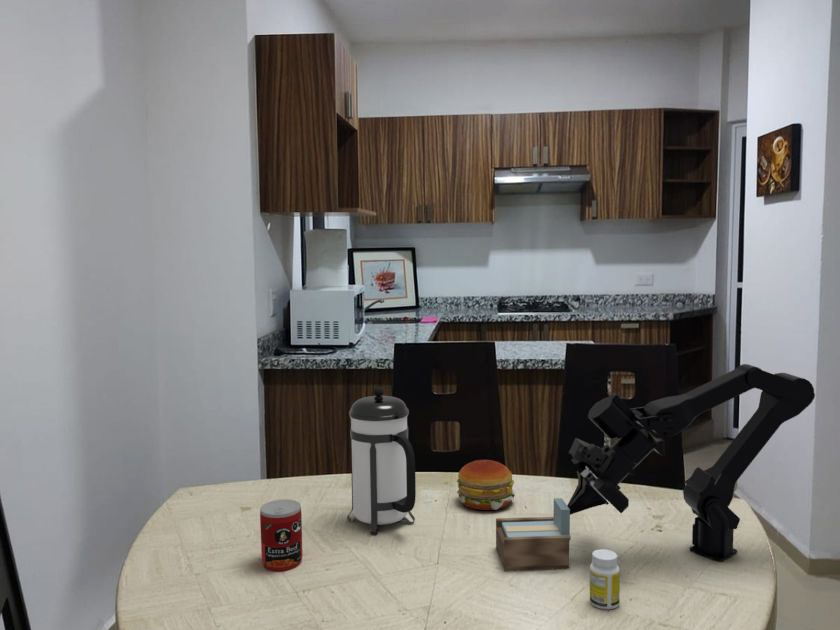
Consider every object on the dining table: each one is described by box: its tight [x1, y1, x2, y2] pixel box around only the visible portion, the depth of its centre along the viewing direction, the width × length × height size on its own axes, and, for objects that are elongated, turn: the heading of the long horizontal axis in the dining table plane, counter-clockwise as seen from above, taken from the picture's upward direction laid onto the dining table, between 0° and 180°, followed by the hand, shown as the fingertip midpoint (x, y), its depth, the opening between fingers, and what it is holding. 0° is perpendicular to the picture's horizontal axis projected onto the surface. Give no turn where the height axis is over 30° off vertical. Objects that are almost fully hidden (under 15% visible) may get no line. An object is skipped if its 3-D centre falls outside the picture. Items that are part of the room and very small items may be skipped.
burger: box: [456, 459, 516, 511], centre depth 160 cm, size 13×14×10 cm
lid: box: [502, 497, 572, 541], centre depth 130 cm, size 12×7×6 cm, turn 93°
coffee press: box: [346, 386, 417, 536], centre depth 147 cm, size 17×16×30 cm
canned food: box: [259, 498, 304, 572], centre depth 130 cm, size 8×8×11 cm
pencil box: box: [495, 516, 570, 572], centre depth 131 cm, size 12×10×6 cm
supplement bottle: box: [589, 548, 621, 610], centre depth 114 cm, size 5×5×8 cm
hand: (567, 512), depth 130 cm, fingers closed, pressing on lid
